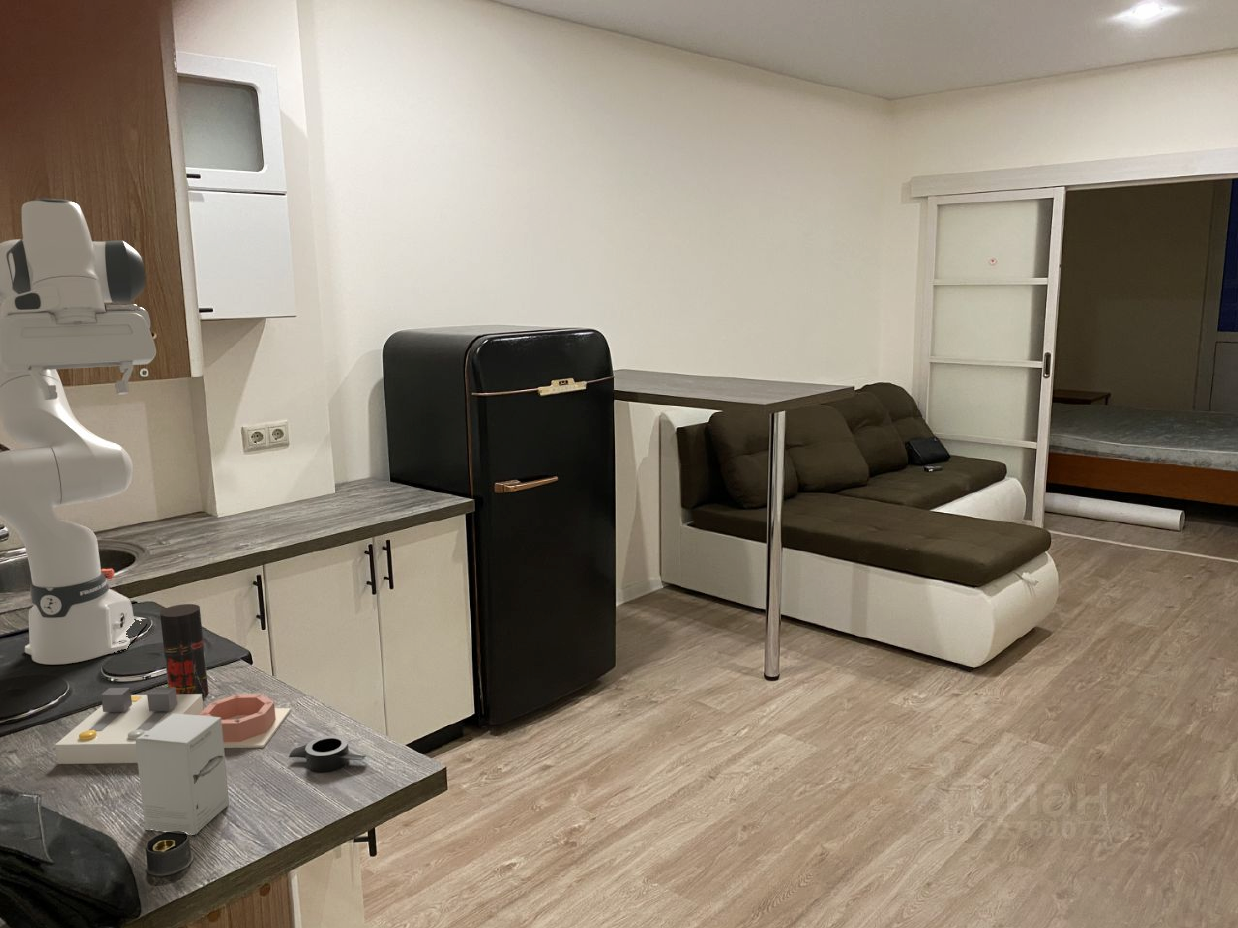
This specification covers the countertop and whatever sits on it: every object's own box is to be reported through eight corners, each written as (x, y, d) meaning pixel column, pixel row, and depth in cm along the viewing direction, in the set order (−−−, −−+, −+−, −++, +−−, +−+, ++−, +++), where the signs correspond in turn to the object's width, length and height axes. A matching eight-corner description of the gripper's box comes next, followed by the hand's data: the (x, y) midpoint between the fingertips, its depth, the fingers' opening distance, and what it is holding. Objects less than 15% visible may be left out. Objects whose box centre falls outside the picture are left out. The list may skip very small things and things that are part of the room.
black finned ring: (321, 787, 126) (320, 767, 125) (285, 762, 132) (284, 743, 132) (371, 765, 131) (369, 746, 131) (334, 742, 138) (332, 724, 137)
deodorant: (163, 696, 154) (154, 610, 151) (199, 684, 158) (190, 601, 155) (178, 706, 150) (168, 619, 147) (214, 694, 154) (206, 609, 151)
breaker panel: (116, 712, 148) (113, 692, 147) (203, 711, 148) (201, 691, 147) (57, 763, 132) (54, 741, 131) (155, 762, 132) (152, 740, 131)
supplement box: (195, 837, 114) (185, 743, 112) (143, 830, 116) (132, 738, 113) (231, 804, 121) (223, 715, 119) (182, 799, 123) (172, 711, 120)
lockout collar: (216, 711, 148) (214, 691, 147) (291, 710, 148) (289, 690, 147) (182, 748, 136) (179, 727, 135) (263, 747, 136) (261, 726, 136)
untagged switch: (156, 704, 143) (154, 687, 142) (177, 704, 143) (175, 687, 142) (149, 711, 141) (147, 694, 140) (170, 711, 141) (168, 694, 140)
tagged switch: (111, 704, 143) (109, 687, 142) (132, 704, 143) (130, 687, 142) (103, 711, 141) (100, 694, 140) (124, 711, 141) (122, 694, 140)
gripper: (141, 310, 145) (158, 395, 144) (-14, 313, 132) (4, 407, 131) (151, 297, 140) (169, 385, 139) (-9, 299, 127) (10, 396, 126)
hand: (88, 396), depth 135 cm, fingers open, 8 cm apart
